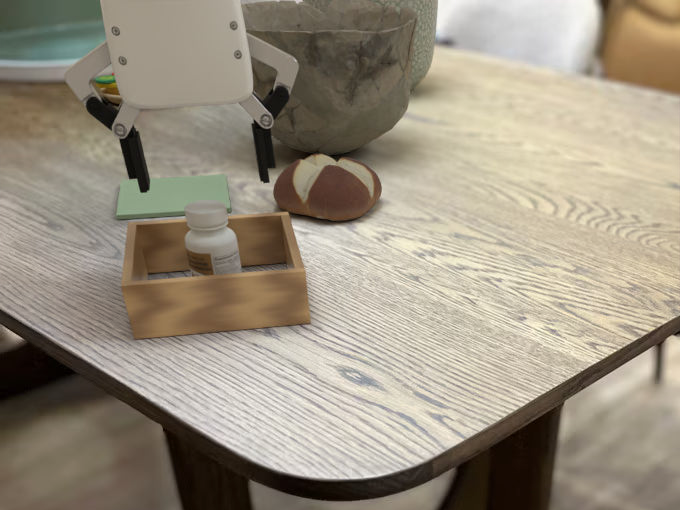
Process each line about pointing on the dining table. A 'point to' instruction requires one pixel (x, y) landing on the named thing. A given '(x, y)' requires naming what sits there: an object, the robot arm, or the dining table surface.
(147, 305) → the compartment
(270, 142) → the robot arm
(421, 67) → the planter
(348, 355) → the dining table surface
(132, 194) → the mat
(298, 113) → the bowl
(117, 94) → the toy food set
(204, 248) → the pill bottle
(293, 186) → the bread
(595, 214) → the dining table surface
